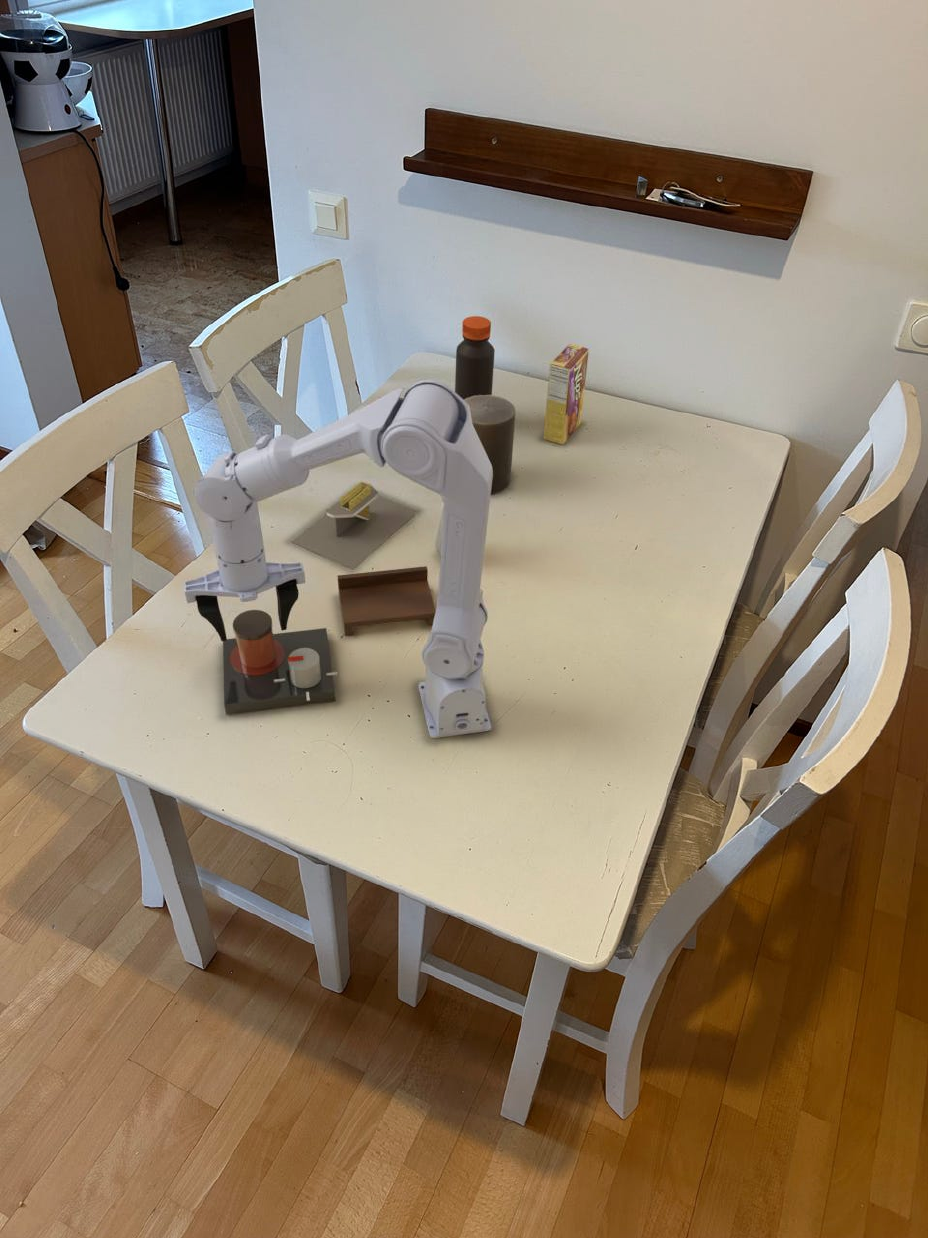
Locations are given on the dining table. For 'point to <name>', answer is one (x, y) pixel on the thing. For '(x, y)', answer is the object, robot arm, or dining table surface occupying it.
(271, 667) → the disc
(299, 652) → the hob knob
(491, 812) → the dining table surface
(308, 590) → the dining table surface
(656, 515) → the dining table surface
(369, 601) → the spice shelf
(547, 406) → the candy box
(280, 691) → the hob
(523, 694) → the dining table surface
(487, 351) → the bottle
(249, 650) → the jar
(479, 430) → the pillar candle
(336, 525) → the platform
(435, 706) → the robot arm
